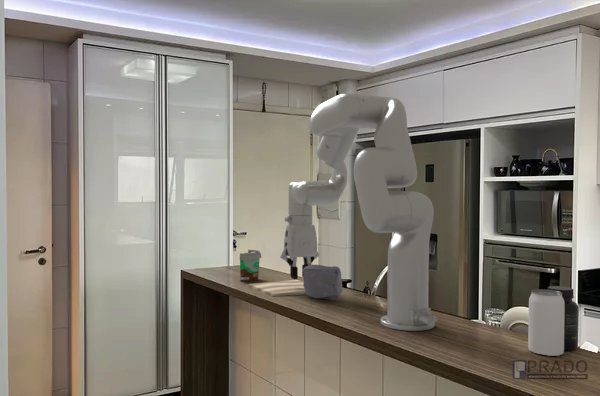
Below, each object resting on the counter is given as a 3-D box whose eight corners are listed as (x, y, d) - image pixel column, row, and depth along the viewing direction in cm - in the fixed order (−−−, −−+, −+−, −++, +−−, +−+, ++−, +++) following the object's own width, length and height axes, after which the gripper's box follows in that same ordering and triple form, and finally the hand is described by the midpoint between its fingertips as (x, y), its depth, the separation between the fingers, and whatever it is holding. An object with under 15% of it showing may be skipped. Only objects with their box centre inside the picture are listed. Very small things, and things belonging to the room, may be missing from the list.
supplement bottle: (575, 342, 112) (576, 286, 112) (580, 352, 106) (581, 292, 106) (540, 339, 115) (541, 284, 115) (542, 348, 108) (543, 289, 108)
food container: (256, 283, 181) (257, 254, 181) (239, 282, 182) (239, 253, 182) (264, 277, 193) (265, 249, 193) (248, 276, 194) (248, 249, 194)
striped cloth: (324, 292, 165) (324, 288, 165) (272, 297, 157) (272, 293, 157) (297, 283, 181) (297, 279, 181) (248, 287, 173) (248, 284, 173)
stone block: (301, 298, 156) (301, 264, 156) (310, 296, 160) (310, 263, 160) (335, 304, 149) (335, 268, 149) (344, 301, 153) (344, 266, 153)
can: (568, 351, 106) (568, 292, 106) (558, 359, 101) (559, 296, 101) (534, 345, 110) (535, 287, 110) (523, 352, 106) (524, 292, 105)
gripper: (282, 222, 161) (282, 282, 162) (328, 220, 169) (328, 278, 170) (271, 220, 168) (271, 278, 168) (316, 219, 176) (316, 274, 176)
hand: (299, 277), depth 169 cm, fingers open, 3 cm apart
